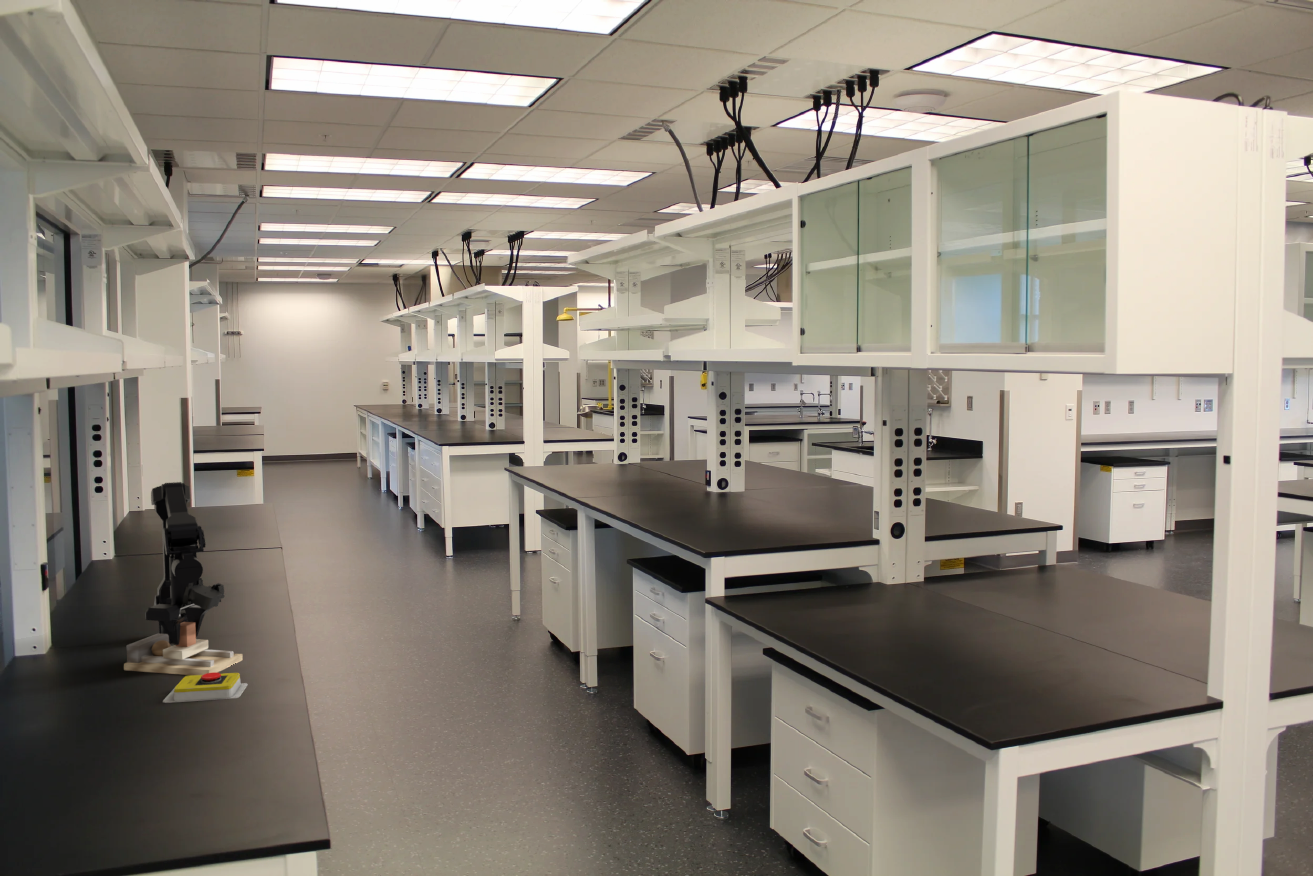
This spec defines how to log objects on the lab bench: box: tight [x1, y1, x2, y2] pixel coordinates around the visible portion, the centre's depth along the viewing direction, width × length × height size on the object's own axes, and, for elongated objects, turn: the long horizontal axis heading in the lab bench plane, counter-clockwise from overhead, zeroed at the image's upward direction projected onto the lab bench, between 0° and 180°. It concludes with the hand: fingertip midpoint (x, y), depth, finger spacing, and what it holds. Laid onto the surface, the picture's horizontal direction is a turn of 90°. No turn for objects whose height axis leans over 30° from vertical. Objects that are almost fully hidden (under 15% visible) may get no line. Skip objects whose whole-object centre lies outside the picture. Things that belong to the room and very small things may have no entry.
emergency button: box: [162, 672, 248, 704], centre depth 195 cm, size 9×4×15 cm
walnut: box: [152, 640, 172, 657], centre depth 214 cm, size 4×4×4 cm
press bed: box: [123, 632, 244, 676], centre depth 213 cm, size 22×12×6 cm, turn 79°
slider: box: [163, 622, 209, 660], centre depth 213 cm, size 5×9×7 cm, turn 169°
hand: (185, 641), depth 213 cm, fingers open, 6 cm apart
